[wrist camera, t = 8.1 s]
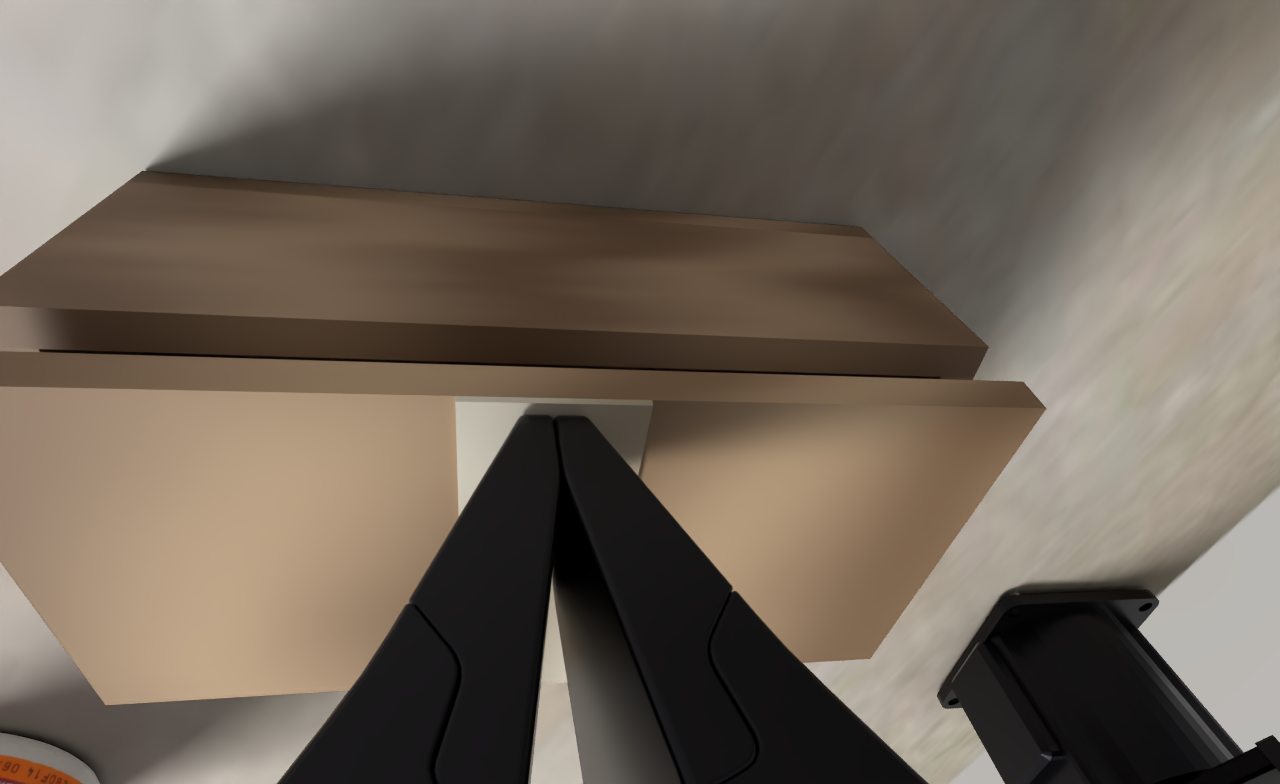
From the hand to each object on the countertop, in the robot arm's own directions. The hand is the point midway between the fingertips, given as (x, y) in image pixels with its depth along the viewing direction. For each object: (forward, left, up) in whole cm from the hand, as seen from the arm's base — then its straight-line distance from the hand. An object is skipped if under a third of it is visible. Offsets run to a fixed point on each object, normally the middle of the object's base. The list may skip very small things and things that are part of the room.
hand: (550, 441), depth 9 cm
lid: (0, +3, -1) cm, 3 cm away
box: (0, +3, -7) cm, 7 cm away
